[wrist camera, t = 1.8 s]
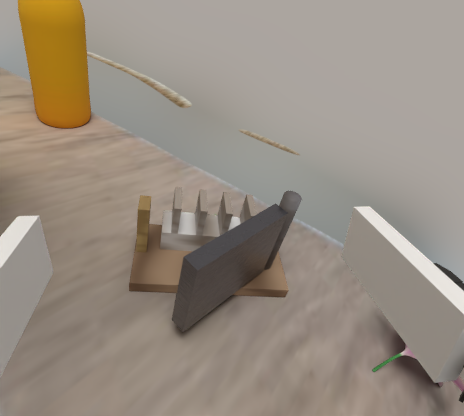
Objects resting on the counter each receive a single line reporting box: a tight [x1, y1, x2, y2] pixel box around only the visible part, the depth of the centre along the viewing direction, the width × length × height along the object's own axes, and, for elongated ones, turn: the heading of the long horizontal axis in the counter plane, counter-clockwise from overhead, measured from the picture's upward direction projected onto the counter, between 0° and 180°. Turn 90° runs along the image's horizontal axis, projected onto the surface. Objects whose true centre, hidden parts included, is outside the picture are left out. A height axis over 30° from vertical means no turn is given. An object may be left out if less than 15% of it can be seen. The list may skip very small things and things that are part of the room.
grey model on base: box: [129, 187, 301, 297], centre depth 39 cm, size 19×10×13 cm, turn 96°
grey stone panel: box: [172, 204, 288, 332], centre depth 35 cm, size 13×2×10 cm, turn 136°
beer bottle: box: [18, 0, 91, 128], centre depth 53 cm, size 9×9×29 cm
